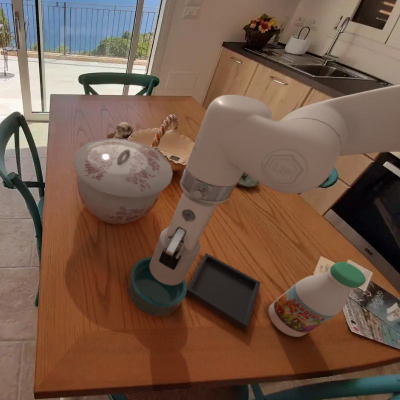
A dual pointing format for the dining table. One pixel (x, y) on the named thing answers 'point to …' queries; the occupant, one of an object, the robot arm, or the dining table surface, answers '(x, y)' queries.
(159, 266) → the can
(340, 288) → the milk bottle
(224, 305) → the tray
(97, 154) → the chamber pot
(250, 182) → the lid
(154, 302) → the bowl
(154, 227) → the dining table surface
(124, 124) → the skull
